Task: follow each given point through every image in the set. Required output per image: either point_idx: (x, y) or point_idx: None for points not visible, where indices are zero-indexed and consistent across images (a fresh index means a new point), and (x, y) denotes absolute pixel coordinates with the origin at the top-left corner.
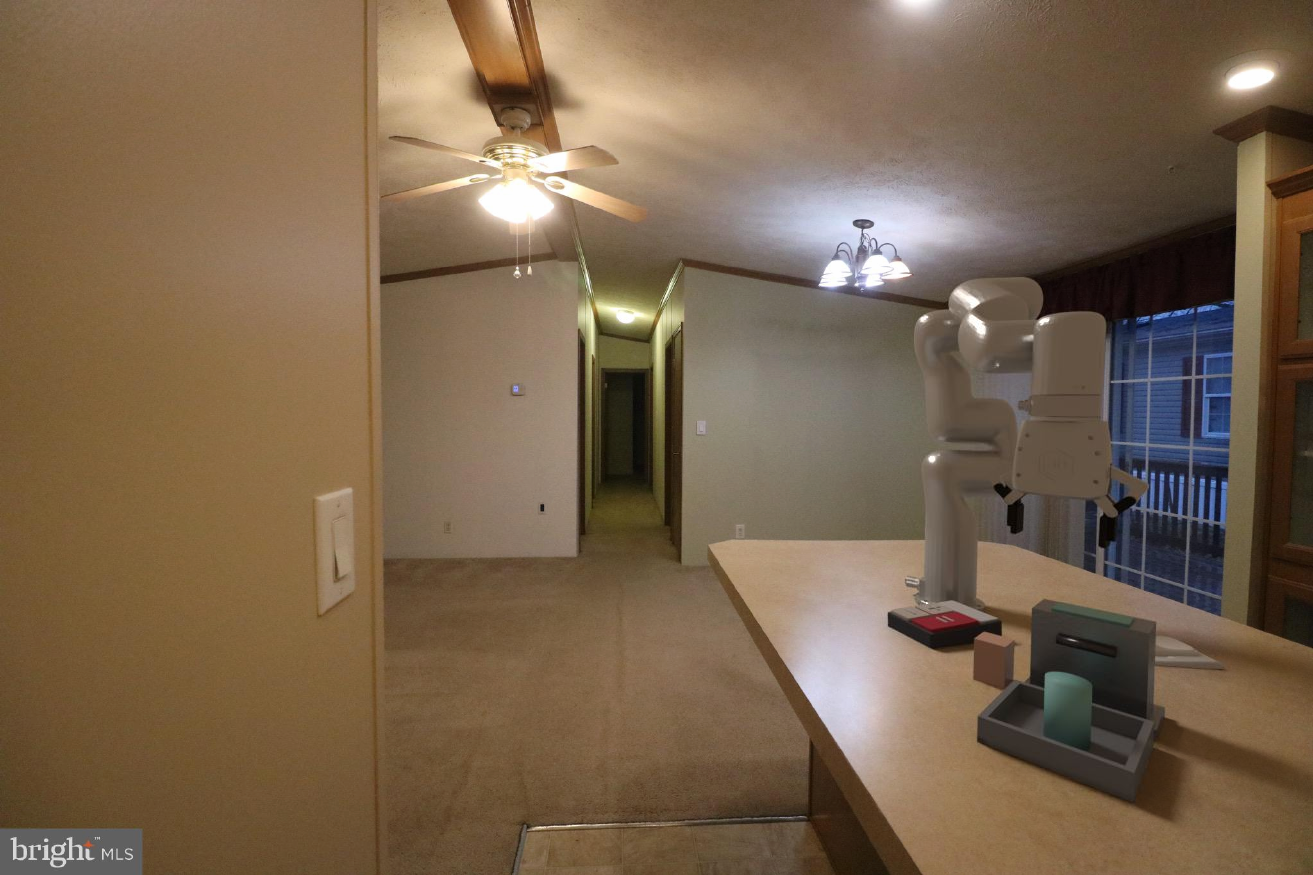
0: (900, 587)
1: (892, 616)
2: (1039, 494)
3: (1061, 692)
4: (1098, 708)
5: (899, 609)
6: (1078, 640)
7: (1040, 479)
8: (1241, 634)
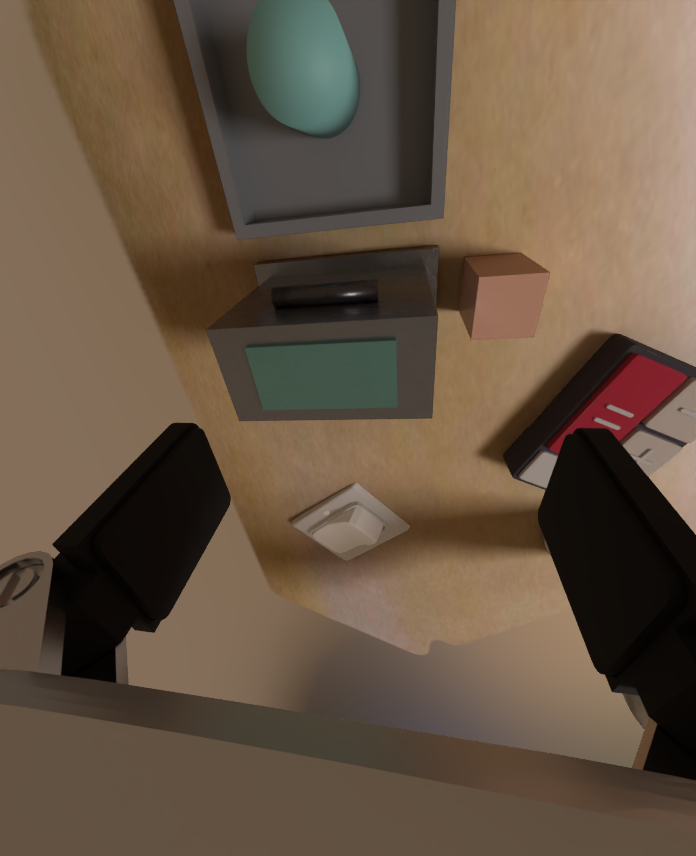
0: None
1: None
2: (511, 764)
3: None
4: (304, 218)
5: None
6: (334, 291)
7: None
8: (309, 598)
